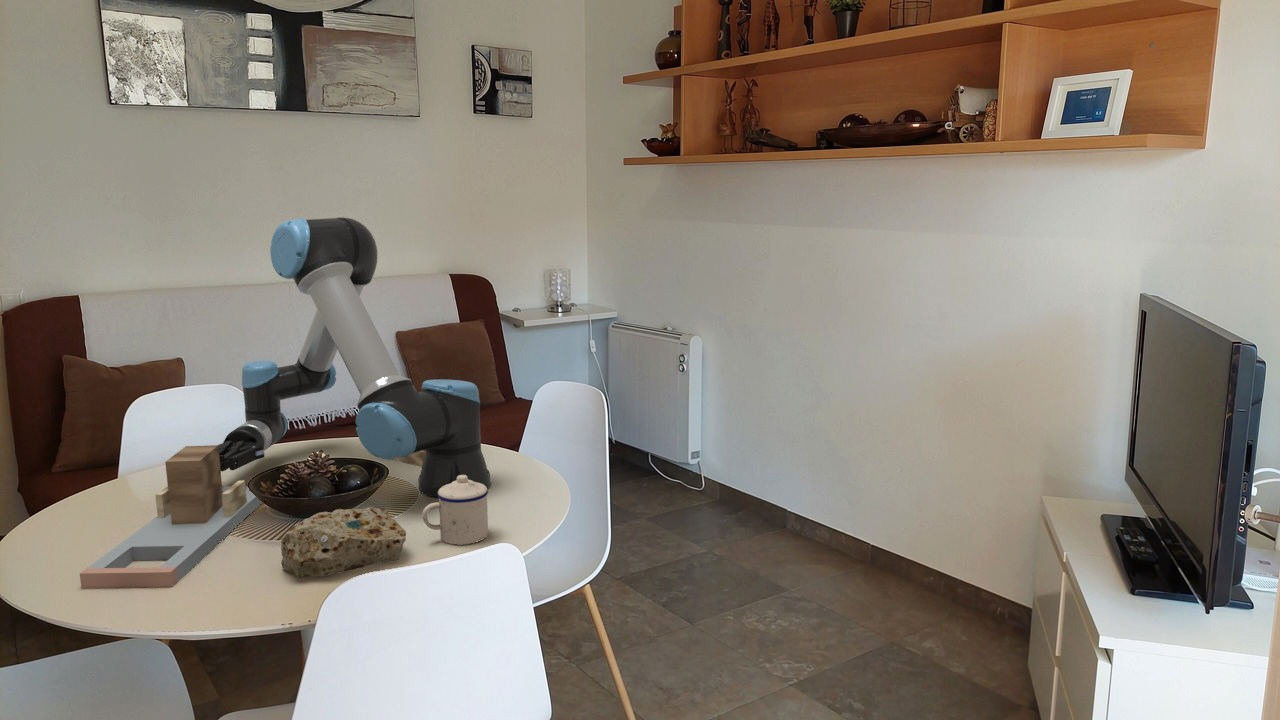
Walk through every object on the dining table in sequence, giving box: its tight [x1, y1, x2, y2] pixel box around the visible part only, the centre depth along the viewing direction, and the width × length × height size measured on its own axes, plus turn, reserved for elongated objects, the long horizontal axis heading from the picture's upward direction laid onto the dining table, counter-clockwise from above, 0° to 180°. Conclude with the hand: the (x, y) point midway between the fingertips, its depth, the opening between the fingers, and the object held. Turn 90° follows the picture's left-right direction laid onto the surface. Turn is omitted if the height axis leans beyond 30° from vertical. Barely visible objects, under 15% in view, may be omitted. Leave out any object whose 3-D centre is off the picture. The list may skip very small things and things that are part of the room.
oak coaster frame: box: [391, 450, 425, 467], centre depth 221 cm, size 14×16×4 cm
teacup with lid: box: [422, 475, 489, 546], centre depth 168 cm, size 12×9×12 cm
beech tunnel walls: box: [154, 480, 247, 518], centre depth 176 cm, size 8×13×4 cm, turn 92°
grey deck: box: [79, 485, 263, 589], centre depth 170 cm, size 43×14×2 cm, turn 2°
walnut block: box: [164, 444, 223, 525], centre depth 173 cm, size 10×6×12 cm, turn 6°
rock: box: [280, 506, 407, 578], centre depth 158 cm, size 21×14×10 cm
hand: (199, 475), depth 178 cm, fingers closed
